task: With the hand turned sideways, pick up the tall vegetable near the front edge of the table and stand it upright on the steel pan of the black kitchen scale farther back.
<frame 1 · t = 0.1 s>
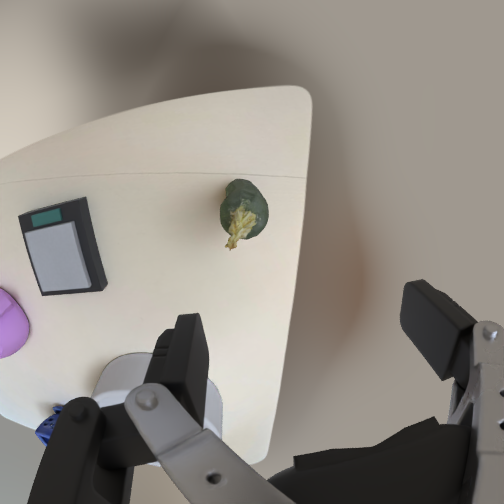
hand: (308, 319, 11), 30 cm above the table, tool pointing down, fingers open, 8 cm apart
teapot: (8, 315, 44), on the table
scale: (64, 247, 40), on the table
flower pot: (82, 419, 55), on the table
container: (160, 398, 51), on the table
vegetable: (241, 191, 39), on the table
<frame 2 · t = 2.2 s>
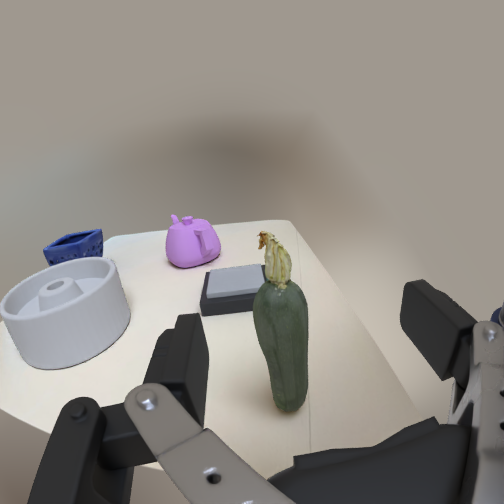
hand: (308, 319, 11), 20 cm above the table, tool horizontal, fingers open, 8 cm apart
teapot: (193, 259, 76), on the table
scale: (242, 293, 55), on the table
flower pot: (84, 279, 71), on the table
container: (73, 330, 47), on the table
vegetable: (287, 415, 28), on the table
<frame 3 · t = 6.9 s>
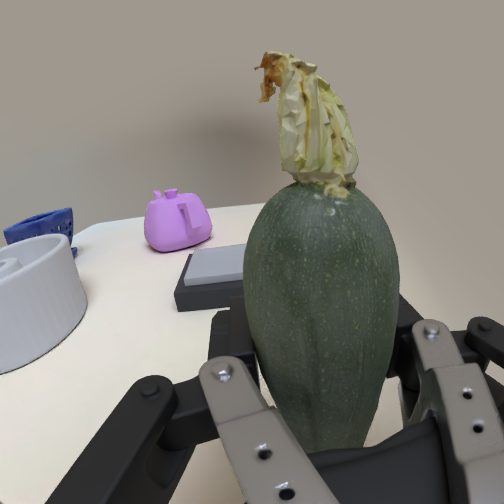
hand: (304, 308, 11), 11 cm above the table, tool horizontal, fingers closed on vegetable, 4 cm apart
teapot: (178, 242, 60), on the table
scale: (236, 281, 40), on the table
flower pot: (50, 268, 55), on the table
container: (19, 326, 32), on the table
vegetable: (311, 485, 13), on the table, touching gripper
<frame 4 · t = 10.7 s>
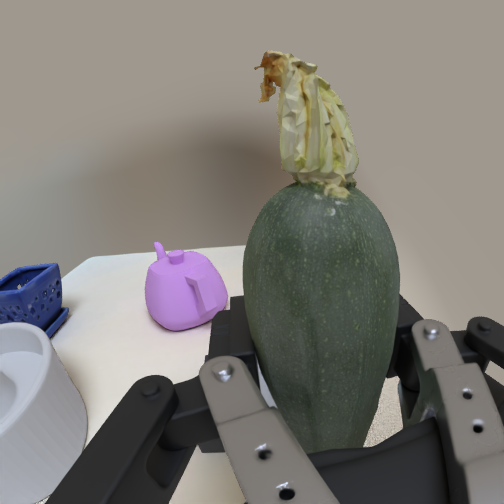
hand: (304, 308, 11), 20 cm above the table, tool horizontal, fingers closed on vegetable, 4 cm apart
teapot: (187, 311, 50), on the table
scale: (267, 401, 30), on the table
flower pot: (40, 332, 45), on the table
container: (14, 433, 22), on the table
vegetable: (311, 485, 13), point 8 cm above the table, touching gripper
when the fingers open (15 cm above the table, at t = 14.4 s): vegetable stays where it is, resting on scale.
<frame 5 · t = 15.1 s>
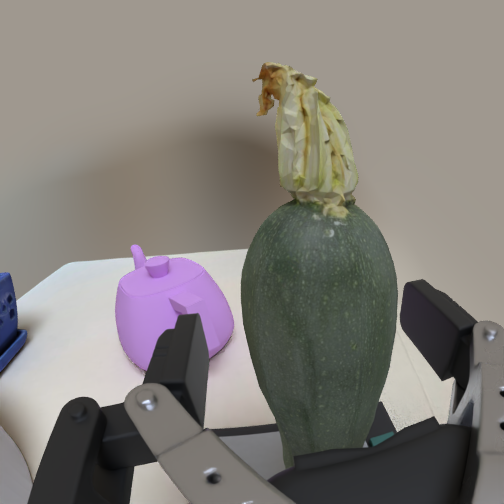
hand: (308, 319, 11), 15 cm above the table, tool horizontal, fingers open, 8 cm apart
teapot: (177, 342, 35), on the table
scale: (308, 503, 14), on the table
vegetable: (309, 490, 13), point 3 cm above the table, touching scale
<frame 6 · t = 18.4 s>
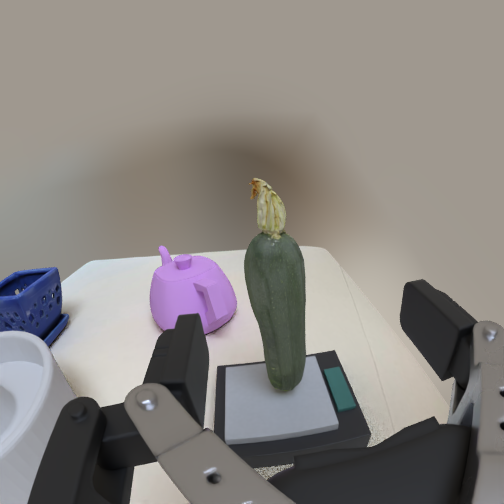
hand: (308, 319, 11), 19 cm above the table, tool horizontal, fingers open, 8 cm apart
teapot: (194, 318, 48), on the table
scale: (285, 413, 28), on the table
flower pot: (39, 339, 43), on the table
container: (14, 448, 20), on the table
vegetable: (283, 395, 26), point 3 cm above the table, touching scale
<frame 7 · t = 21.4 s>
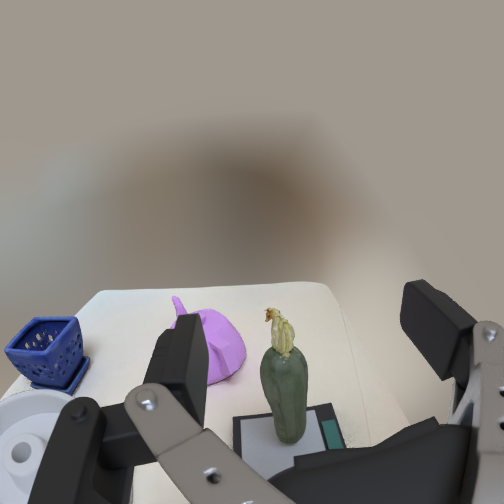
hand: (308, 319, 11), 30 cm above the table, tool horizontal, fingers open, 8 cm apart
teapot: (207, 363, 52), on the table
scale: (289, 456, 31), on the table
flower pot: (63, 380, 47), on the table
container: (59, 488, 24), on the table
vegetable: (288, 445, 30), point 3 cm above the table, touching scale
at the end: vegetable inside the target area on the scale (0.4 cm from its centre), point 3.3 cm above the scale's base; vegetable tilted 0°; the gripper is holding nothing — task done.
